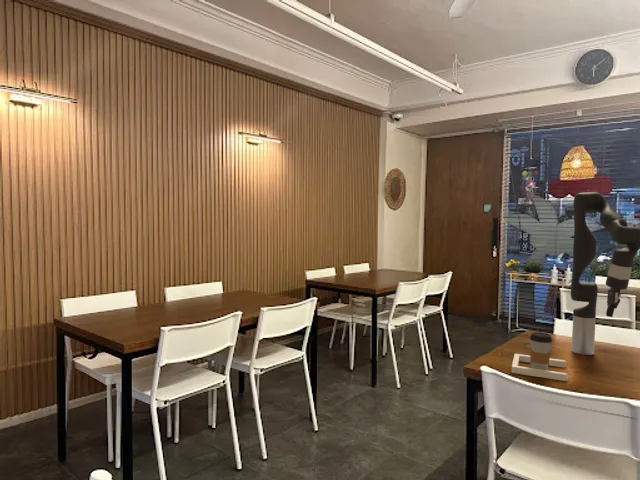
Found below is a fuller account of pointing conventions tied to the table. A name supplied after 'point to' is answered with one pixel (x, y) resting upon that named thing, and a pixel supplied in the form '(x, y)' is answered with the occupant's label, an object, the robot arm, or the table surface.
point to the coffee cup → (540, 350)
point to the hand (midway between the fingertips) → (609, 316)
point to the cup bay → (538, 372)
